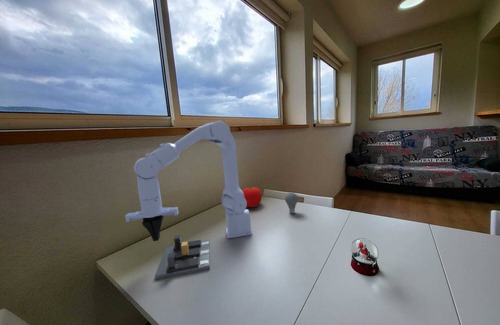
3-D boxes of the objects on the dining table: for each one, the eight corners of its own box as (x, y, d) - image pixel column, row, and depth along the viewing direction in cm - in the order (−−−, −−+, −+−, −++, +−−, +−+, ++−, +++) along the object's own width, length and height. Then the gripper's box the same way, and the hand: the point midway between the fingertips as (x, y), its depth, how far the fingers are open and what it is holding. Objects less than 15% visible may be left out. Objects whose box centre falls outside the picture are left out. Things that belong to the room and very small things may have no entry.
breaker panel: (209, 242, 73) (208, 229, 72) (209, 269, 59) (207, 252, 58) (166, 250, 70) (164, 236, 70) (155, 279, 56) (152, 262, 55)
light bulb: (298, 215, 91) (298, 194, 89) (285, 215, 92) (284, 194, 91) (298, 210, 97) (297, 190, 95) (285, 210, 98) (284, 191, 96)
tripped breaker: (188, 250, 65) (187, 241, 65) (188, 254, 63) (186, 245, 63) (183, 251, 65) (181, 242, 65) (182, 255, 63) (181, 246, 62)
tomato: (239, 210, 103) (237, 190, 101) (244, 202, 115) (242, 184, 113) (261, 210, 101) (259, 190, 100) (263, 201, 113) (262, 183, 111)
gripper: (177, 190, 65) (182, 229, 67) (129, 196, 63) (136, 236, 64) (173, 197, 58) (179, 240, 60) (119, 203, 56) (127, 248, 58)
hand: (156, 239), depth 62 cm, fingers closed
